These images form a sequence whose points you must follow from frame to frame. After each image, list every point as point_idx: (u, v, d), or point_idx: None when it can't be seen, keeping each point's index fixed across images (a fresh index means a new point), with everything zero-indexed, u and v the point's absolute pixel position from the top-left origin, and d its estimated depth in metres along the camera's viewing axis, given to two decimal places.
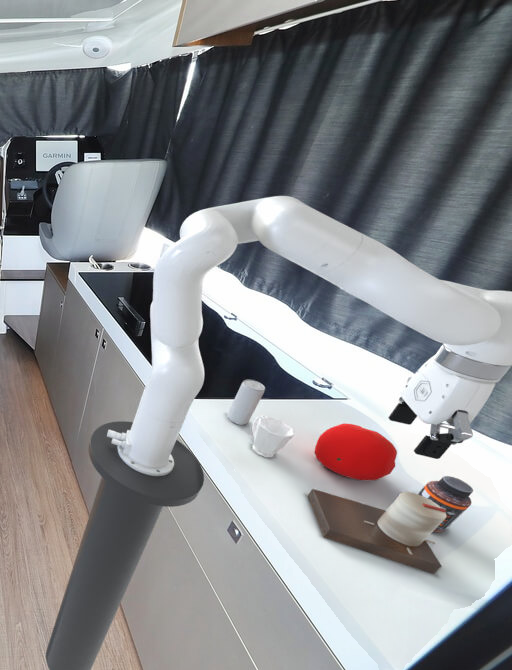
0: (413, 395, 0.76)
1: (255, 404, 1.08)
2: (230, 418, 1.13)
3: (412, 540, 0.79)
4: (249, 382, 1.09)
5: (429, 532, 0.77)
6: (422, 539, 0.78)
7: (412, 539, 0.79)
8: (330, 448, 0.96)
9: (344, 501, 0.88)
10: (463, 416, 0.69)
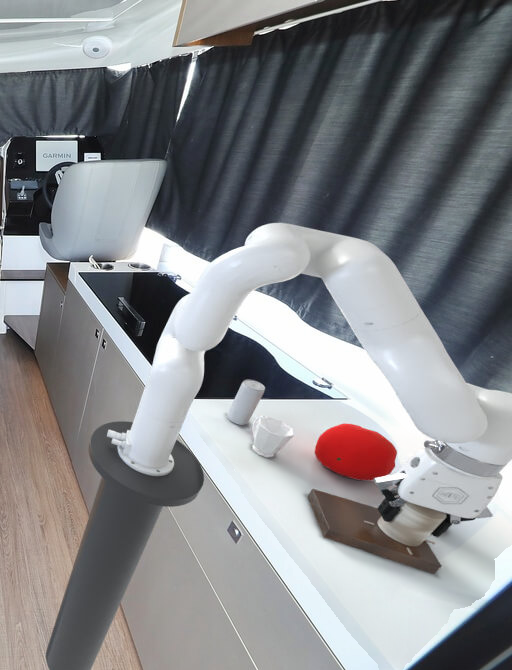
0: (435, 500, 0.74)
1: (255, 404, 1.08)
2: (230, 418, 1.13)
3: (412, 540, 0.79)
4: (249, 382, 1.09)
5: (429, 532, 0.77)
6: (422, 539, 0.78)
7: (412, 539, 0.79)
8: (330, 448, 0.96)
9: (344, 501, 0.88)
10: None
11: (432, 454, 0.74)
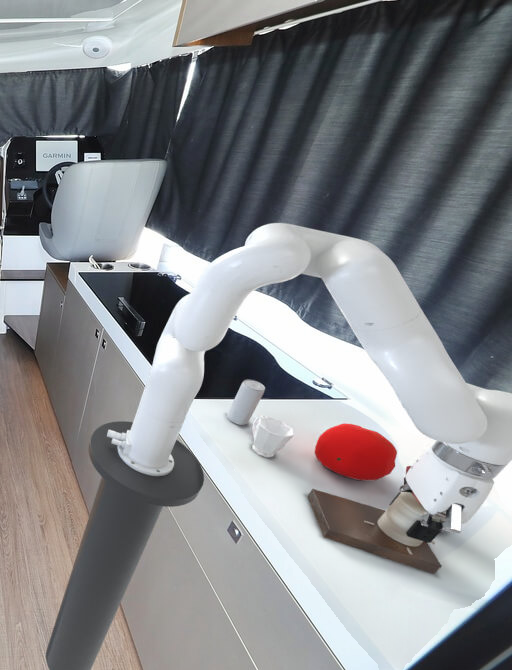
0: None
1: (255, 404, 1.08)
2: (230, 418, 1.13)
3: None
4: (249, 382, 1.09)
5: None
6: None
7: None
8: (330, 448, 0.96)
9: (344, 501, 0.88)
10: None
11: (473, 476, 0.70)
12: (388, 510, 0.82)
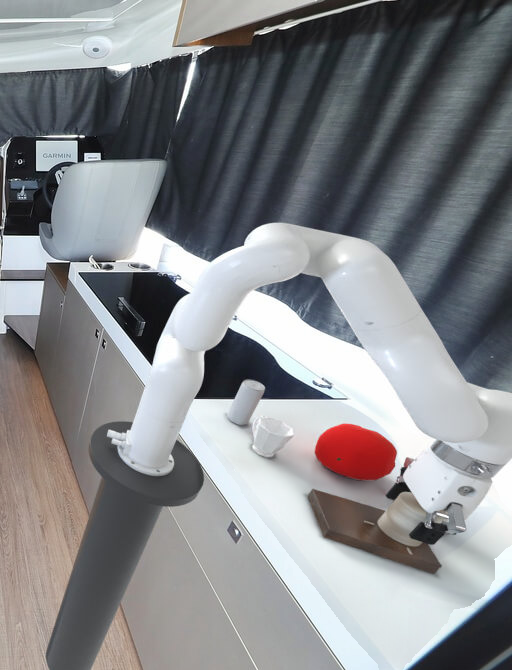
0: None
1: (255, 404, 1.08)
2: (230, 418, 1.13)
3: None
4: (249, 382, 1.09)
5: None
6: None
7: None
8: (330, 448, 0.96)
9: (344, 501, 0.88)
10: None
11: (471, 475, 0.70)
12: (388, 510, 0.82)
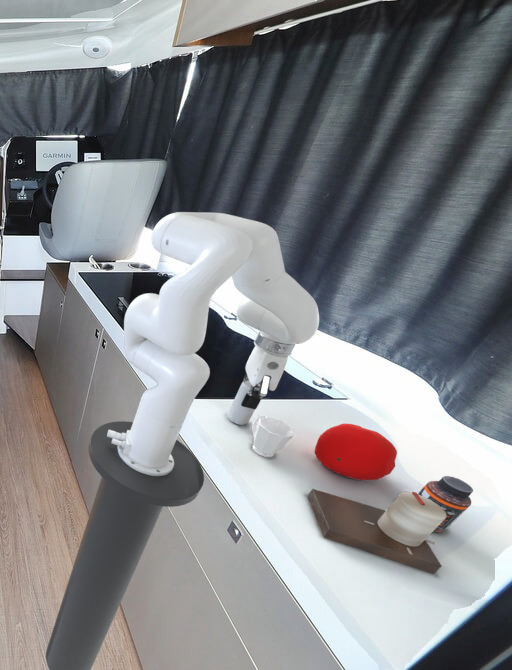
0: None
1: None
2: (230, 418, 1.13)
3: None
4: (249, 382, 1.09)
5: None
6: None
7: None
8: (330, 448, 0.96)
9: (344, 501, 0.88)
10: None
11: (275, 354, 1.00)
12: (388, 510, 0.82)
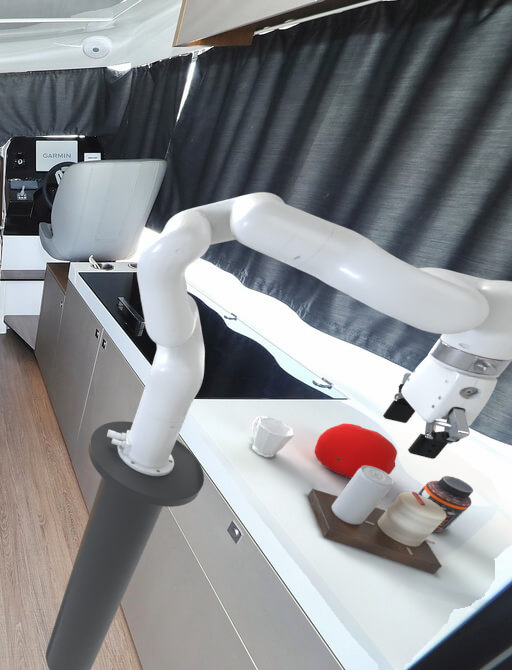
0: None
1: (378, 501, 0.79)
2: (338, 514, 0.84)
3: None
4: (369, 470, 0.80)
5: None
6: None
7: None
8: (330, 448, 0.96)
9: None
10: None
11: (474, 375, 0.64)
12: (388, 510, 0.82)
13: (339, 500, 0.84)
